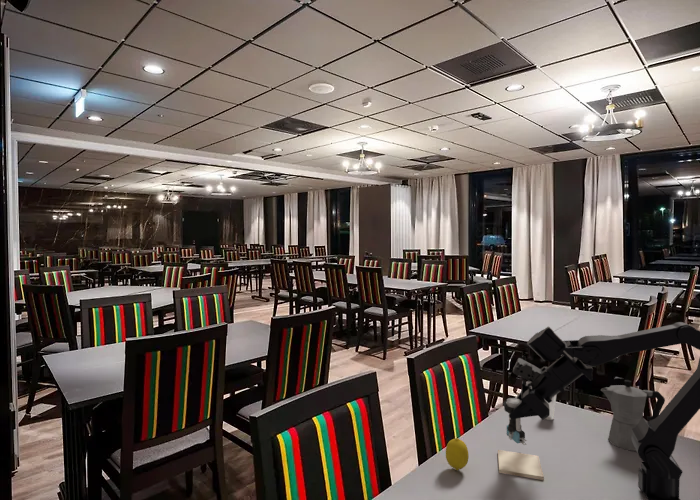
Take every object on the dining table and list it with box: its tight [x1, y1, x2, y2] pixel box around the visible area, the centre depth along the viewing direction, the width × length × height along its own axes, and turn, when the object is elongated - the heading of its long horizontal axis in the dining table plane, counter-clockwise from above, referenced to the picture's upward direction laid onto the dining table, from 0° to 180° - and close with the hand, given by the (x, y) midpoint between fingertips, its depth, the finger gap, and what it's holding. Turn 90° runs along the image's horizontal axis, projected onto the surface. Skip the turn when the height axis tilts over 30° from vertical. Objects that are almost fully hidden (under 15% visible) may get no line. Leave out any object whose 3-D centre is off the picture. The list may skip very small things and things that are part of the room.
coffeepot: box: [600, 379, 666, 452], centre depth 115 cm, size 15×9×18 cm, turn 72°
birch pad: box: [497, 449, 545, 481], centre depth 103 cm, size 10×10×1 cm
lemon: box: [445, 437, 469, 471], centre depth 101 cm, size 6×6×8 cm
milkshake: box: [544, 394, 558, 421], centre depth 131 cm, size 4×5×10 cm
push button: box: [502, 397, 527, 446], centre depth 103 cm, size 7×5×10 cm
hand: (510, 413), depth 104 cm, fingers closed on push button, 5 cm apart
